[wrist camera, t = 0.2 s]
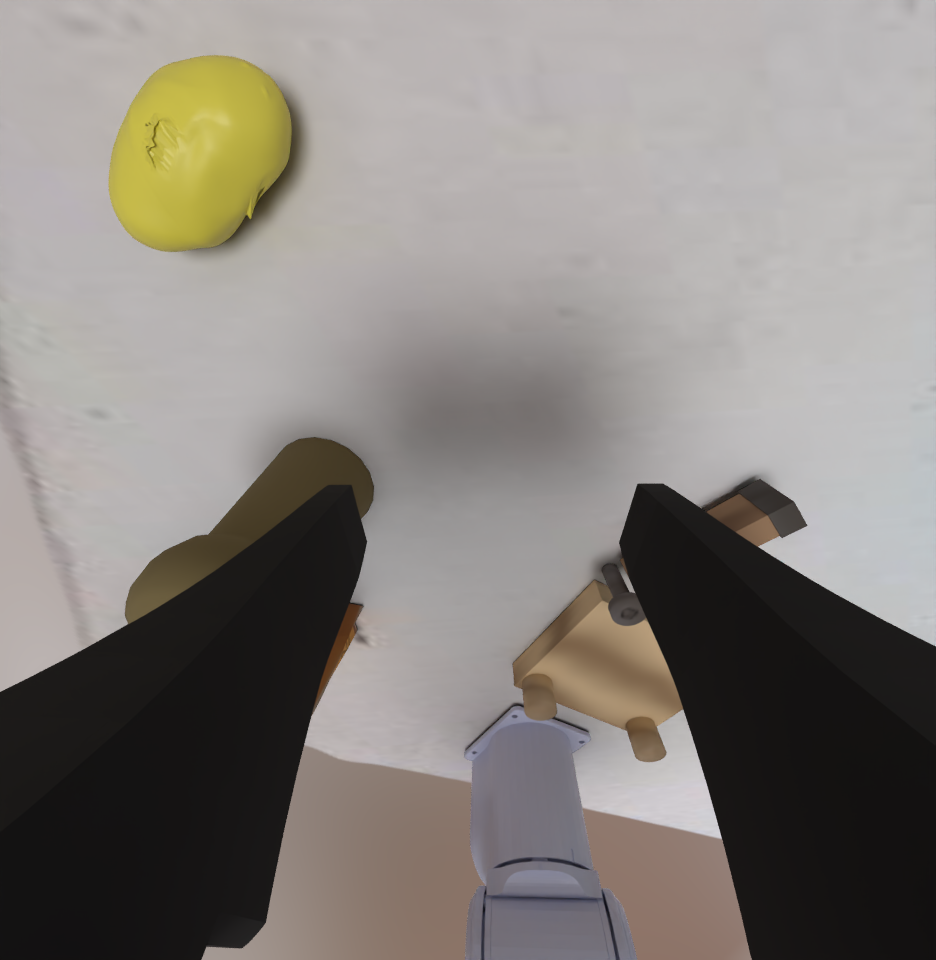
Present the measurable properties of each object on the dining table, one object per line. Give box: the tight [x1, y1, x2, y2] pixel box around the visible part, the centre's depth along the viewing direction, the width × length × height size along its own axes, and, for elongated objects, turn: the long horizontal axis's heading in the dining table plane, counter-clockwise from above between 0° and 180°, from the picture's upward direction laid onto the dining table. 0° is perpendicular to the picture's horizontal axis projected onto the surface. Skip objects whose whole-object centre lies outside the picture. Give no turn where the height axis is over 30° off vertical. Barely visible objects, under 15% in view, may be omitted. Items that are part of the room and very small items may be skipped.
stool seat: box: [513, 564, 683, 762], centre depth 24 cm, size 13×13×4 cm
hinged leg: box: [620, 479, 807, 577], centre depth 20 cm, size 9×2×2 cm, turn 131°
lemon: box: [109, 55, 292, 252], centre depth 13 cm, size 4×8×4 cm, turn 118°
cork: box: [125, 437, 374, 624], centre depth 16 cm, size 6×6×11 cm
